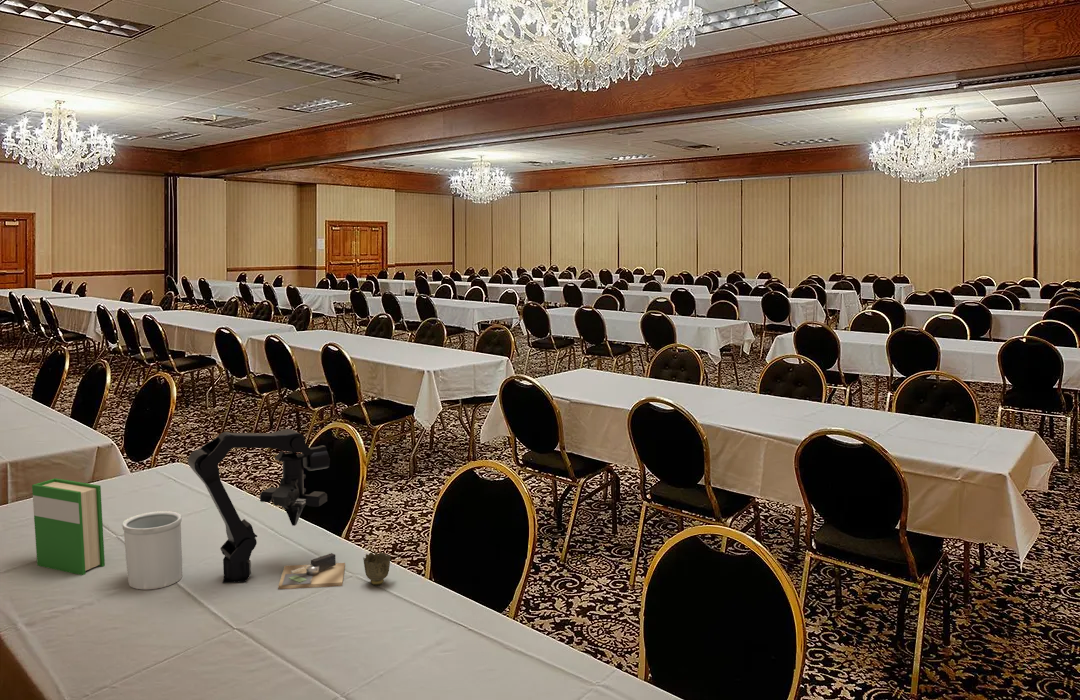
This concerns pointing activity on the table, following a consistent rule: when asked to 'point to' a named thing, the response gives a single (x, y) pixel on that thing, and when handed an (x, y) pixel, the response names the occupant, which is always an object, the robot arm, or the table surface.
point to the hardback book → (68, 525)
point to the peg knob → (318, 564)
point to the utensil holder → (153, 549)
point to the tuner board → (311, 577)
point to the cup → (377, 567)
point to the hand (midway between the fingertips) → (294, 525)
